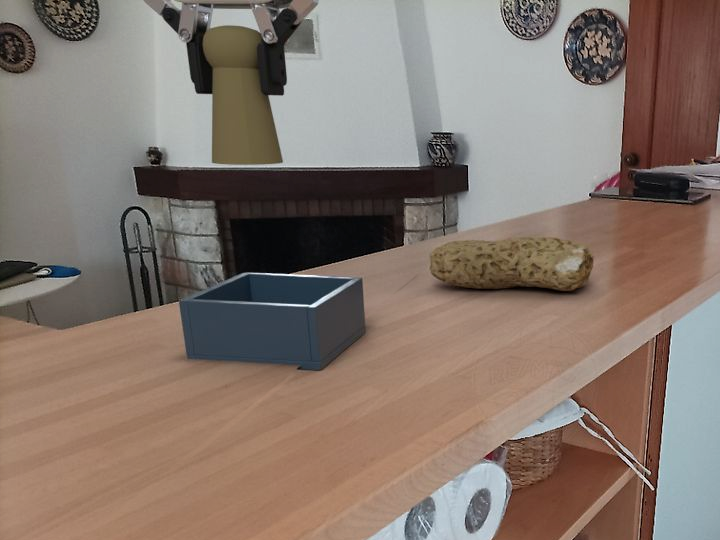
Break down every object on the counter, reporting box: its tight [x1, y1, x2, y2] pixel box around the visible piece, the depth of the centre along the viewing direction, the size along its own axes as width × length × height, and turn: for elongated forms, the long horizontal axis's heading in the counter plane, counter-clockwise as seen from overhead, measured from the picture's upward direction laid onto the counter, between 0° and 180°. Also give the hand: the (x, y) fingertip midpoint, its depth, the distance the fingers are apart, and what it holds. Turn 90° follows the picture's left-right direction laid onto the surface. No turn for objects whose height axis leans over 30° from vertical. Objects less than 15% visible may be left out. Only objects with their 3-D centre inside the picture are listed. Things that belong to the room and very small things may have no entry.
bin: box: [178, 271, 366, 371], centre depth 75 cm, size 13×13×6 cm
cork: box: [203, 24, 284, 166], centre depth 68 cm, size 6×6×11 cm
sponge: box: [429, 236, 595, 292], centre depth 101 cm, size 13×8×20 cm
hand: (240, 92), depth 68 cm, fingers closed on cork, 5 cm apart
